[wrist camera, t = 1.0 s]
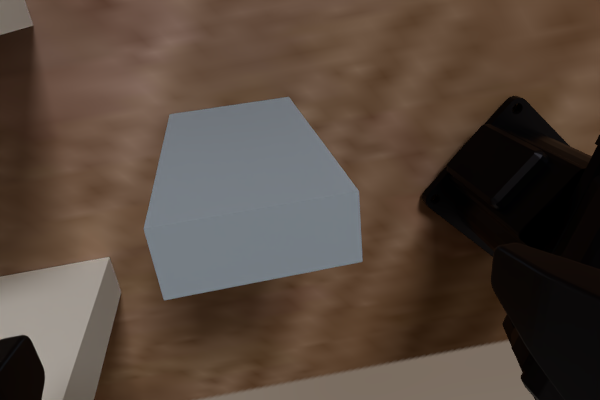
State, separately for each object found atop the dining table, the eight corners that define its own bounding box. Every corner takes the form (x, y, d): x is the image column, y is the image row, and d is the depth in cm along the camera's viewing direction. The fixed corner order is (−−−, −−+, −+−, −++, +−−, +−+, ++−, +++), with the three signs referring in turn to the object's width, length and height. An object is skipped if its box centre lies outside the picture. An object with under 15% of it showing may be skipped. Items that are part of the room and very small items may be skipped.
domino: (121, 292, 22) (68, 497, 14) (10, 313, 22) (-120, 542, 13) (109, 256, 22) (45, 451, 13) (-7, 277, 21) (-159, 497, 12)
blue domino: (293, 141, 21) (362, 261, 12) (180, 159, 20) (164, 300, 11) (288, 96, 20) (358, 191, 11) (169, 114, 19) (143, 228, 11)
